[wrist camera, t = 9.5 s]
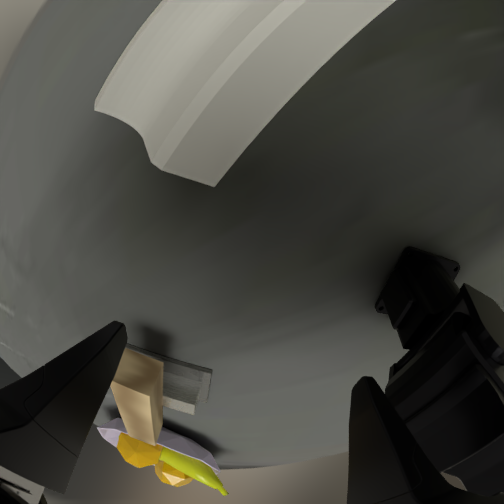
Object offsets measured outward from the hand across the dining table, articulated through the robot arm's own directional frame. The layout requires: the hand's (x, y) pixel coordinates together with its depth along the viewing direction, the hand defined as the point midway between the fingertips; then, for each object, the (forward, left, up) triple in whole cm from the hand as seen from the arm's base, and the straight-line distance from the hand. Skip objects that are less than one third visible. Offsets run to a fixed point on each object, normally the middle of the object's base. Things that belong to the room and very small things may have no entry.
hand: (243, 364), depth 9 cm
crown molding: (+2, -18, -13) cm, 22 cm away
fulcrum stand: (+9, +23, -12) cm, 27 cm away
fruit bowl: (+9, +52, -12) cm, 54 cm away
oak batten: (+9, +23, -8) cm, 26 cm away
